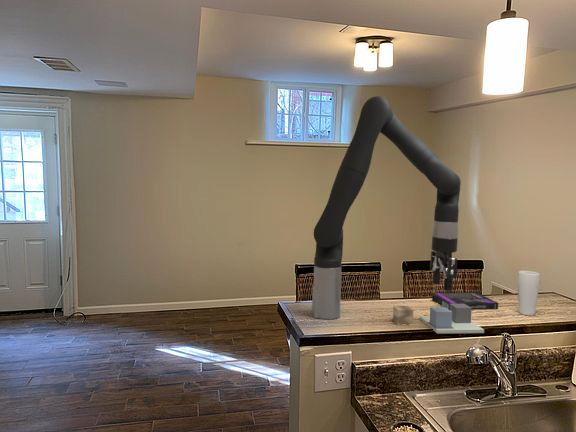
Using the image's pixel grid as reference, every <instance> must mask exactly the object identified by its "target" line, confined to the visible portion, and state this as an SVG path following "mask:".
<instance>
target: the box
mask: <svg viewBox="0 0 576 432" xmlns="http://www.w3.org/2000/svg"><path fill="white" fill-rule="evenodd" d="M431 300H432V301H433V302H435V304H437V303H438V304H437V305H439V304H440V305H439V306H441V307H442V306H443V307H446V308H447V309H449V310H450V304H466V305H467V306H469V307H471V308H472V311H475V310H477V311H481V310H484V311H486V310H499V302H498V301H495V300H493V299H491V298H490V297H487V296H485V295H483V294H481V293H479V292H434V293H432V295H431Z"/></svg>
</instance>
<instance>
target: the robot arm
mask: <svg viewBox="0 0 576 432" xmlns="http://www.w3.org/2000/svg"><path fill="white" fill-rule="evenodd" d="M359 114H360V115H359V118H358V121H357V125H356V129H355V131H354V134H353V137H352V138H351V139H352V140H351V141H350V143H349V146H347V147H348V148H347V149H346V152H345V154H344V157H343V158H342V160H341V163H340V166H339V168H338V171H337V173H336V176H335V178H334V181H333V185H332V187H331V190H330V194H329V198H328V200H327V203H326V205H325V207H324V210H323V212H322V213H321V216H320V217H319V219H318V221H317V223H316V225H315V226H314V229H313V238H314V240H315V242H316V244H315V253H314V259H313V260H314V261H313V265H314V266H313V286H312V297H311V298H312V299H311V305H312V306H311V314H312V316H313V317H314V319H322V320H335V319H339V318H340V317H341V297H342V295H341V293H342V292H341V290H342V289H341V287H342V284H341V283H342V263H343V262H342V261H343V250H344V249H343V247H344V229H343V227H344V223H345V221H346V219H347V218H346V217H347V215H348V213H349V211H350V209H351V207H352V205H353V204H354V202H355V200H356V199H357V197H358V195H359V193H360V192H361V189H362V188H363V186H364V182H365V181H366V179H367V175H368V174H369V171H370V167H371V164H372V158H373V152H374V148H375V144H376V142H377V140H378V137H379V135H380V133H381V134H382V135H383V136H385V137H386V138H387V139H388V140H389V141H391V143H393V144H394V145H395V147H396V148H397V149H398V150H399V151H400V153H402V155H403V156H404V157H405V158H406V159H407V161H409V162H410V163H411V164H412V166H414V167H415V168H416V169H417V170H418V171H419V173H422V174H423V175H424V176H425V177H426V179H427V180H429V182H430V183H431V184H432V185H433V186H434V188H435V189H436V204H435V207H434V213H433V214H434V215H433V216H434V217H433V225H432V232H431V234H432V235H431V250H432V251H431V253H430V262H429V269H430V270H431V271H432V281H431V282H432V284H433V285H440V284H441V272H442V273H443V277H444V278H443V279H444V280H443V290H444V291H445V292H446V291H447V292H451V291H452V289H453V288H452V287H453V280H454V279H457V277H458V276H457V275H458V258H456V257H453V253H456V252H457V251H458V242H459V241H458V239H459V237H458V236H459V212H460V210H459V201H460V193H461V185H462V184H461V182H462V181H461V179H460V176H459V175H458V174H457V173H456V172H454V170H453V169H451V168H450V167H449V166H448V165H447V164H446V163H445V162H443V161H442V160H441V158H440V157H439V156H438V154H436V152H434V151H433V150H432V149H431V148H430V147H429V146H428V145H427V144H426V143H425V142H424V141H423V140H421V139H420V138H419V137H418V136H416V135H415V134H414V133H413V132H411V131H410V130H409V128H407V127H406V126H405V125H404V124H403V123H402V121H401V120H400V119H399V117H397V114H396V113H395V112H394V111H393V108H392V106H391V104H390V103H389V101H388V100H387V99H386V98H385V97H382V96H378V95H376V96H372V97H370V98H369V99H368V100H366V101H365V102H364V104H363V105H362V108H361V111H360V113H359Z"/></svg>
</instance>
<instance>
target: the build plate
mask: <svg viewBox="0 0 576 432" xmlns="http://www.w3.org/2000/svg"><path fill="white" fill-rule="evenodd" d="M450 311H452V328H436V327H434V326H433V325H432V324H431V323H430V315H427V316H425V315H424V316H422V315H421V316H419V320H420V321H421V320H422V321H421V322H423V324H425V325H426V324H427V325H428V326H427V325H426V326H427V327H428V328H429V329H431V328H432V329H433V330H432V329H431V330H432V331H434V333H436V334H485V329H484V328H482V327H481V326H479V325H477V324H476V323H475V322H473V321H472V311H473V310H472V308H471V307H469V306H467V305H466V304H450Z"/></svg>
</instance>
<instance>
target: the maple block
mask: <svg viewBox="0 0 576 432" xmlns="http://www.w3.org/2000/svg"><path fill="white" fill-rule="evenodd" d="M392 308H393V310H392V321H393V320H394V321H395V322H396V323H397V324H406V325H405V326H411V325H410V324H413V325H414V309H413V308H412V307H410V306H409V305H393V307H392ZM394 321H393V322H394ZM395 322H394V323H395ZM396 323H395V324H396ZM397 324H396V325H397Z"/></svg>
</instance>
